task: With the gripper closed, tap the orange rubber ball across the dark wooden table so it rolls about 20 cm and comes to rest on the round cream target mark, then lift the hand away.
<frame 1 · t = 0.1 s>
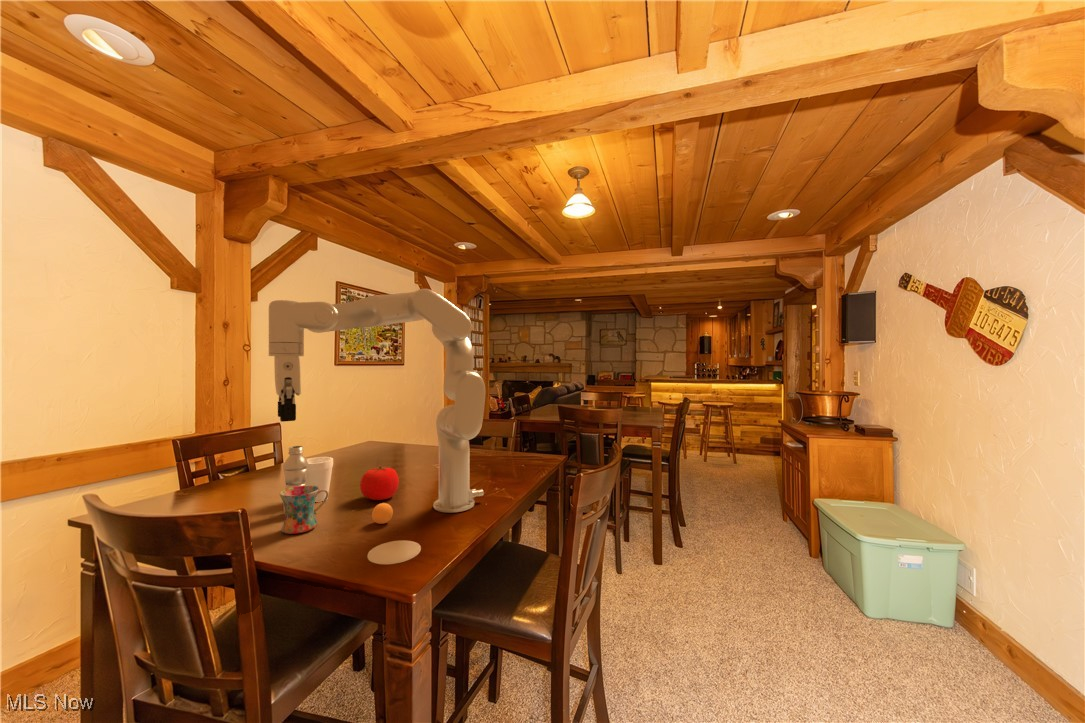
hand: (286, 418, 104), 31 cm above the table, tool pointing down, fingers open, 9 cm apart
ball: (382, 513, 116), on the table
foam cup: (317, 500, 136), on the table
tomato: (379, 499, 137), on the table
mug: (305, 528, 113), on the table
target mark: (394, 552, 99), on the table
plastic bottle: (295, 515, 123), on the table
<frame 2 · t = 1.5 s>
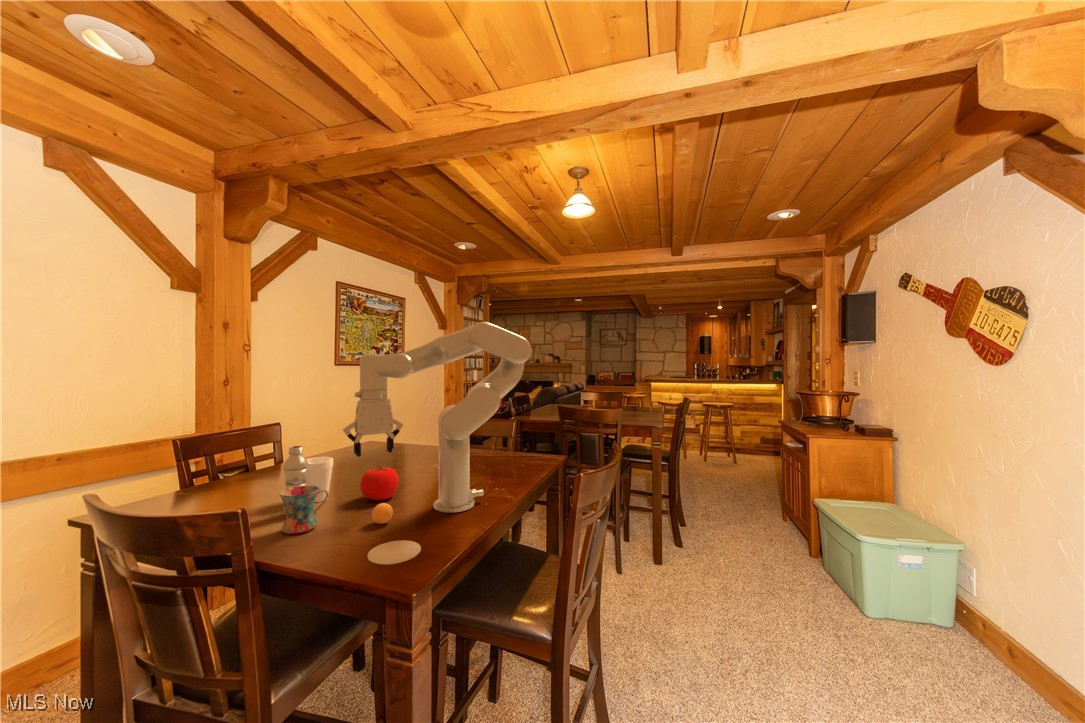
hand: (374, 453, 124), 18 cm above the table, tool pointing down, fingers open, 8 cm apart
nothing on the table moved.
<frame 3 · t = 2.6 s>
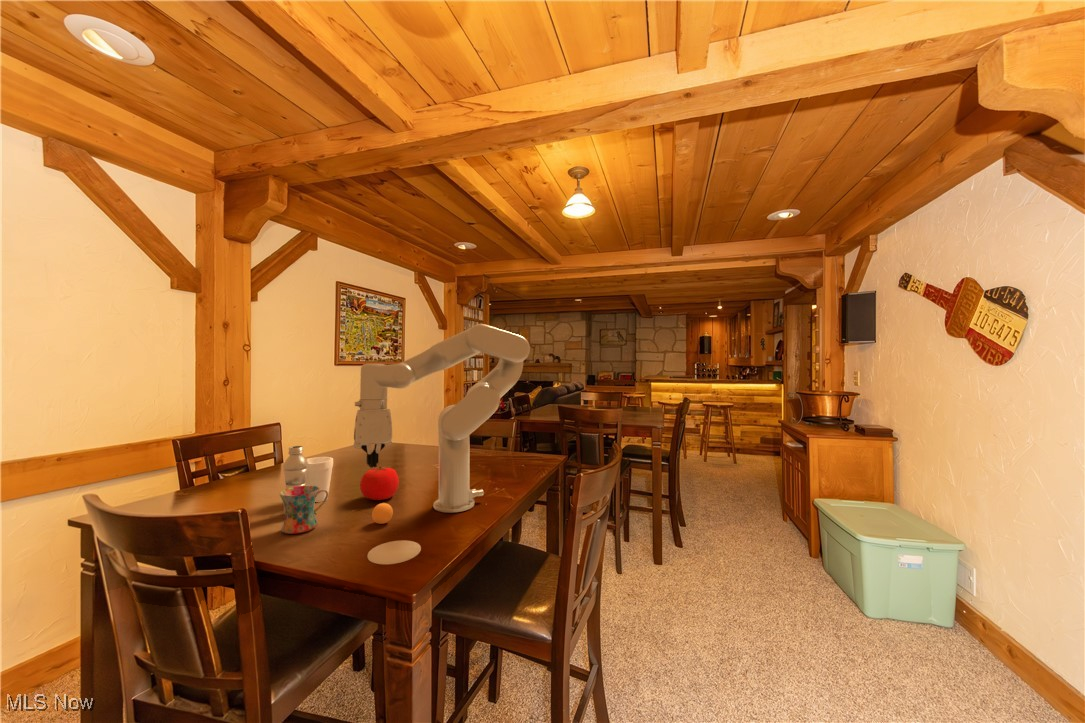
hand: (372, 466, 124), 14 cm above the table, tool pointing down, fingers closed
nothing on the table moved.
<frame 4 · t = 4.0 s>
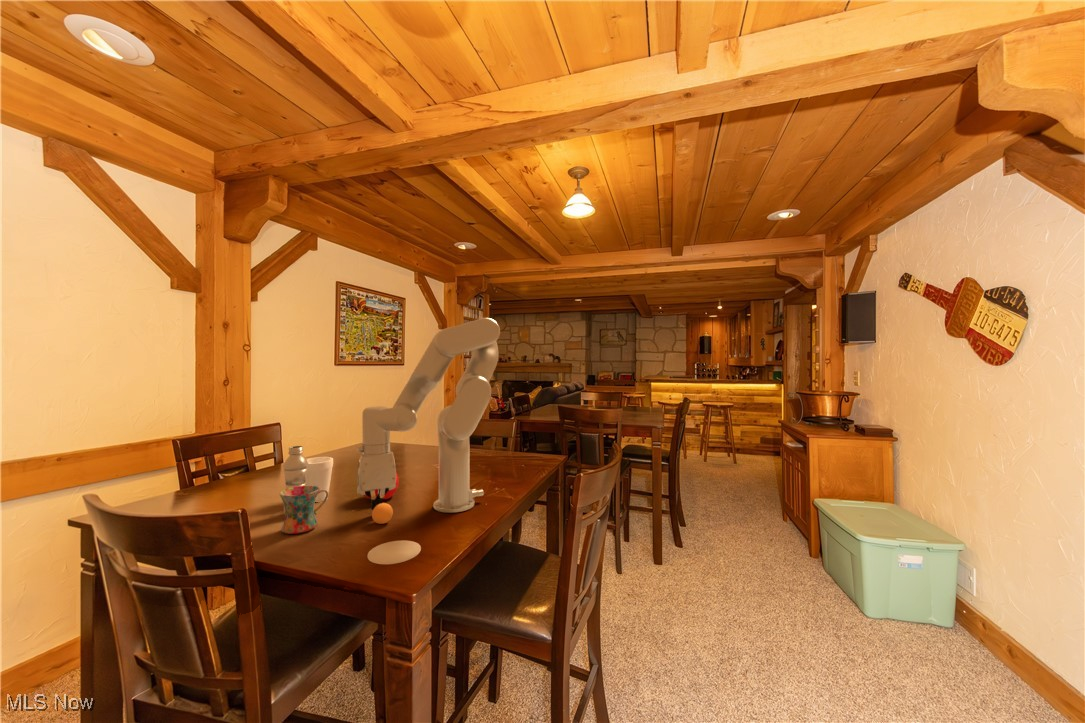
hand: (376, 511, 122), 1 cm above the table, tool pointing down, fingers closed
nothing on the table moved.
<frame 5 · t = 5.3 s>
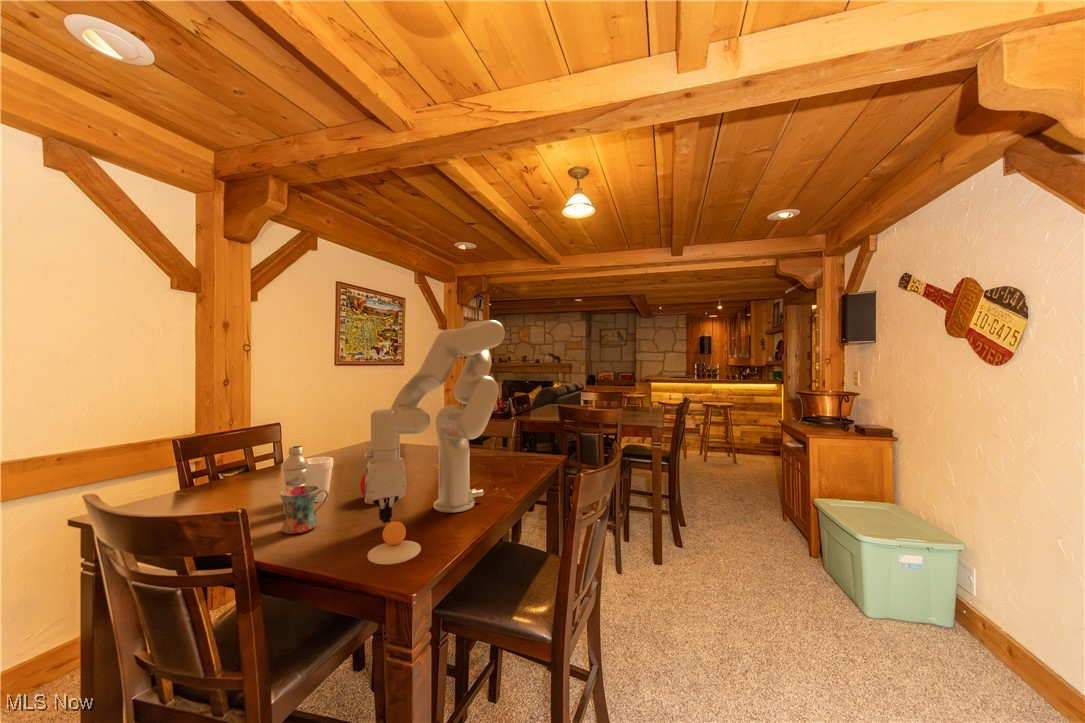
hand: (385, 521, 114), 2 cm above the table, tool pointing down, fingers closed
ball: (394, 533, 103), on the table
everything else where it was.
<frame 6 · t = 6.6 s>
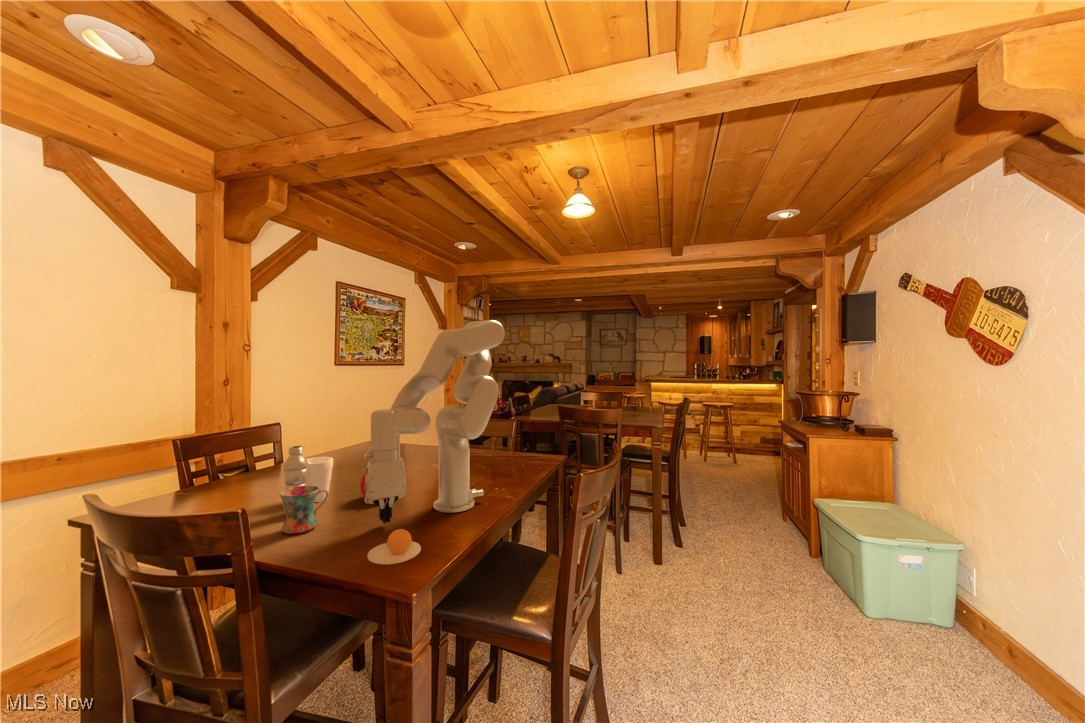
hand: (385, 521, 114), 2 cm above the table, tool pointing down, fingers closed
ball: (399, 541, 98), on the table
everything else where it was.
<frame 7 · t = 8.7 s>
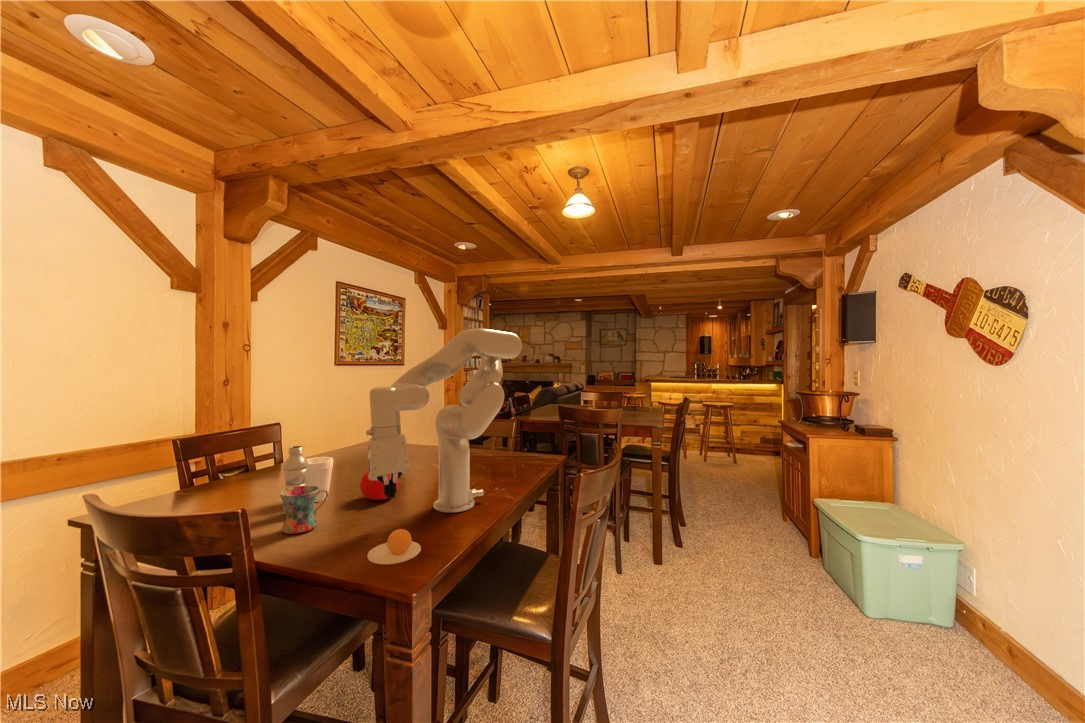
hand: (390, 496, 115), 8 cm above the table, tool pointing down, fingers closed
nothing on the table moved.
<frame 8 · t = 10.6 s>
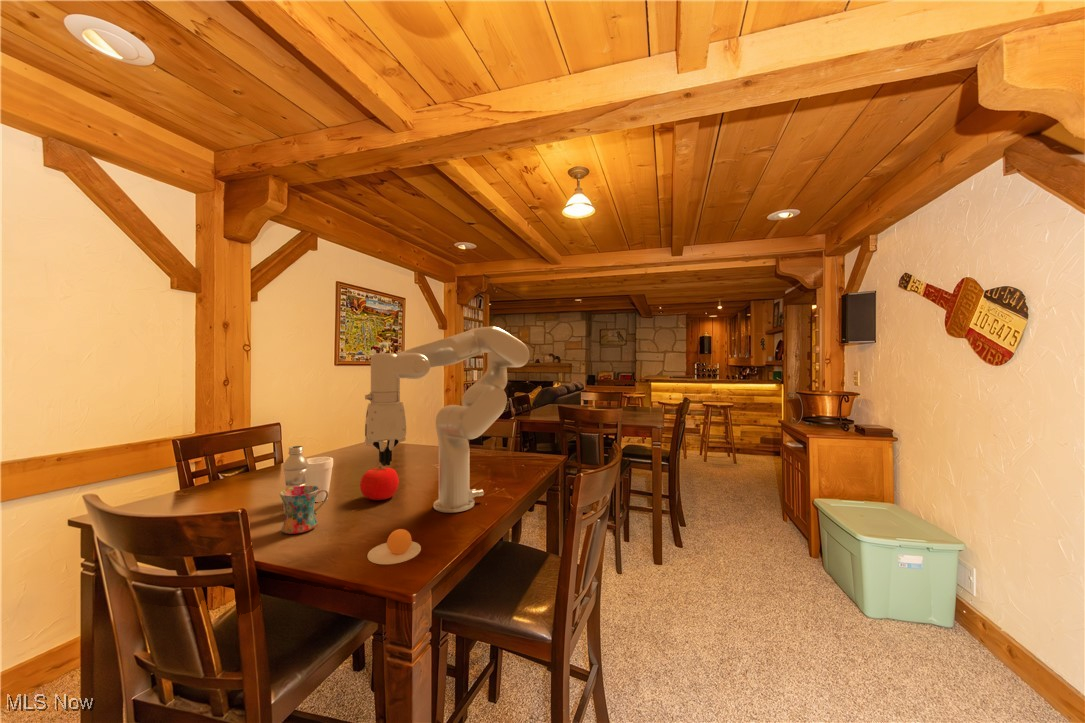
hand: (385, 464, 114), 17 cm above the table, tool pointing down, fingers closed
nothing on the table moved.
at the end: ball 1.4 cm from the target mark (horizontally); ball at rest at the end (0.0 cm/s); ball moved 21.2 cm from its start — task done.
